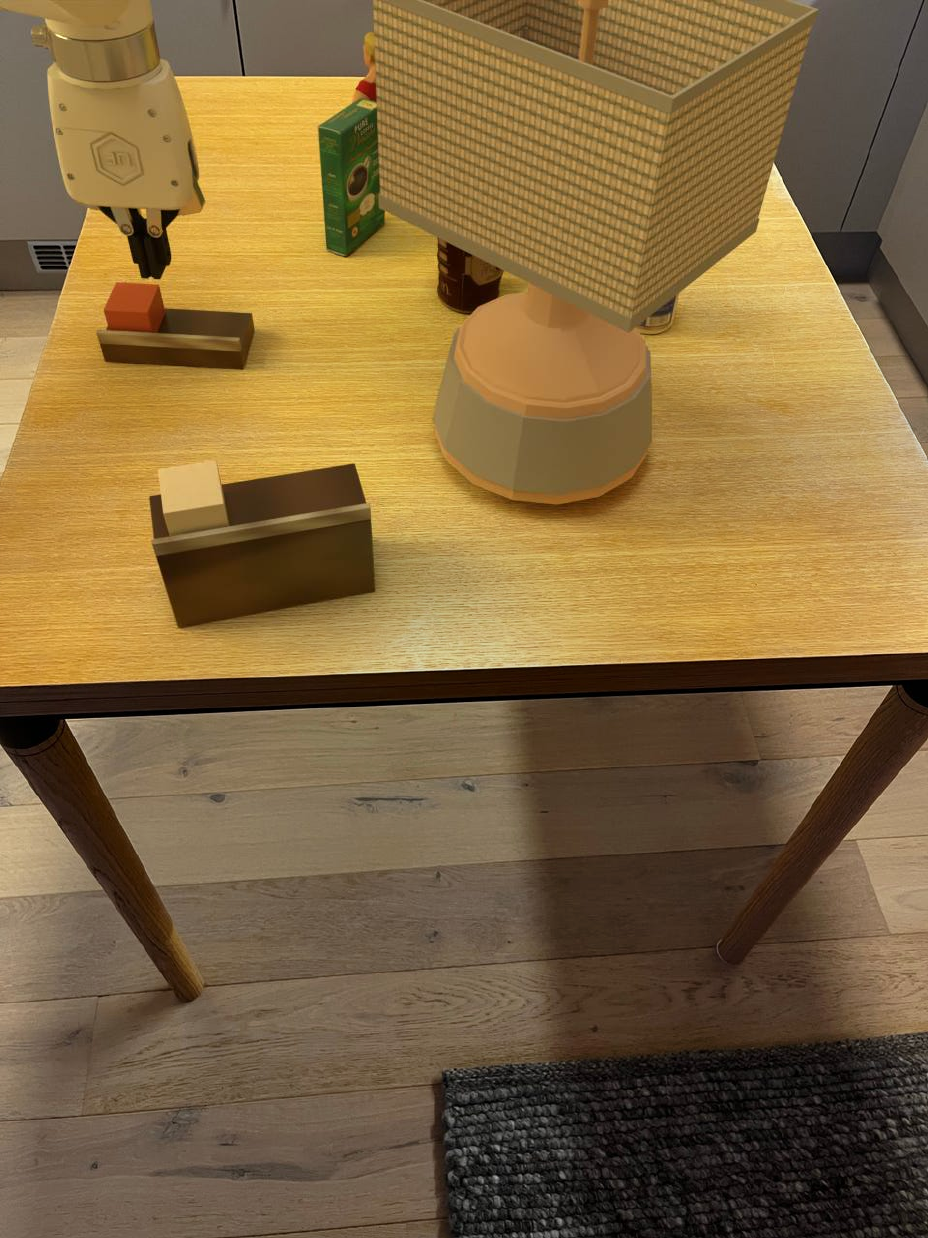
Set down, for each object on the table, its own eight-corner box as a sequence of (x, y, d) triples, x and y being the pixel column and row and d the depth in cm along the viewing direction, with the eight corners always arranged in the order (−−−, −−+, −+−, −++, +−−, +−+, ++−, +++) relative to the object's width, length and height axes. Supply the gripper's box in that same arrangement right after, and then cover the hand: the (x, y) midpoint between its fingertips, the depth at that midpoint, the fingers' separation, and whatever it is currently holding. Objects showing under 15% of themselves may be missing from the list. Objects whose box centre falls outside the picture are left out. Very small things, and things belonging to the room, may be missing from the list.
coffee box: (365, 215, 111) (359, 93, 100) (387, 223, 110) (384, 100, 100) (324, 250, 106) (313, 125, 96) (347, 258, 105) (338, 133, 95)
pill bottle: (627, 299, 102) (642, 218, 96) (677, 311, 101) (696, 230, 94) (613, 328, 99) (628, 246, 92) (665, 341, 98) (683, 259, 91)
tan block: (223, 490, 72) (216, 459, 70) (230, 533, 70) (223, 503, 67) (166, 499, 72) (157, 468, 69) (172, 543, 69) (163, 513, 67)
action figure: (394, 151, 120) (391, 14, 108) (416, 162, 118) (416, 24, 106) (338, 181, 115) (328, 41, 103) (361, 192, 114) (354, 52, 102)
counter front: (359, 536, 81) (353, 450, 74) (375, 591, 77) (370, 507, 70) (170, 569, 78) (145, 483, 71) (178, 628, 75) (151, 544, 67)
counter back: (255, 330, 97) (250, 301, 95) (243, 369, 94) (238, 340, 91) (121, 322, 97) (113, 294, 95) (104, 361, 94) (95, 332, 91)
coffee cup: (525, 286, 103) (537, 163, 93) (492, 330, 98) (501, 205, 88) (449, 264, 105) (452, 141, 95) (413, 305, 101) (412, 181, 90)
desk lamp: (702, 445, 89) (835, -16, 60) (575, 566, 80) (660, 89, 51) (510, 343, 97) (547, -105, 68) (375, 442, 88) (352, -29, 59)
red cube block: (165, 312, 95) (159, 284, 93) (154, 340, 92) (147, 312, 90) (123, 309, 95) (116, 281, 93) (111, 338, 92) (103, 309, 90)
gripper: (-12, 62, 72) (57, 289, 86) (195, 75, 72) (231, 300, 86) (22, 21, 77) (82, 242, 91) (216, 33, 77) (247, 252, 91)
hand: (155, 270), depth 89 cm, fingers closed
